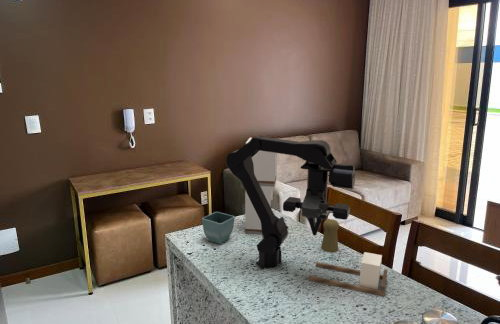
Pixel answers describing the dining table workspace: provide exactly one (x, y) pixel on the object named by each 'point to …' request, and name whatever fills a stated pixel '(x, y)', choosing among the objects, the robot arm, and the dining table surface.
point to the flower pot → (218, 226)
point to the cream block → (370, 270)
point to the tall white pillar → (267, 180)
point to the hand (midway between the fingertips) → (314, 234)
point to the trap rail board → (346, 285)
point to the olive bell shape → (330, 236)
